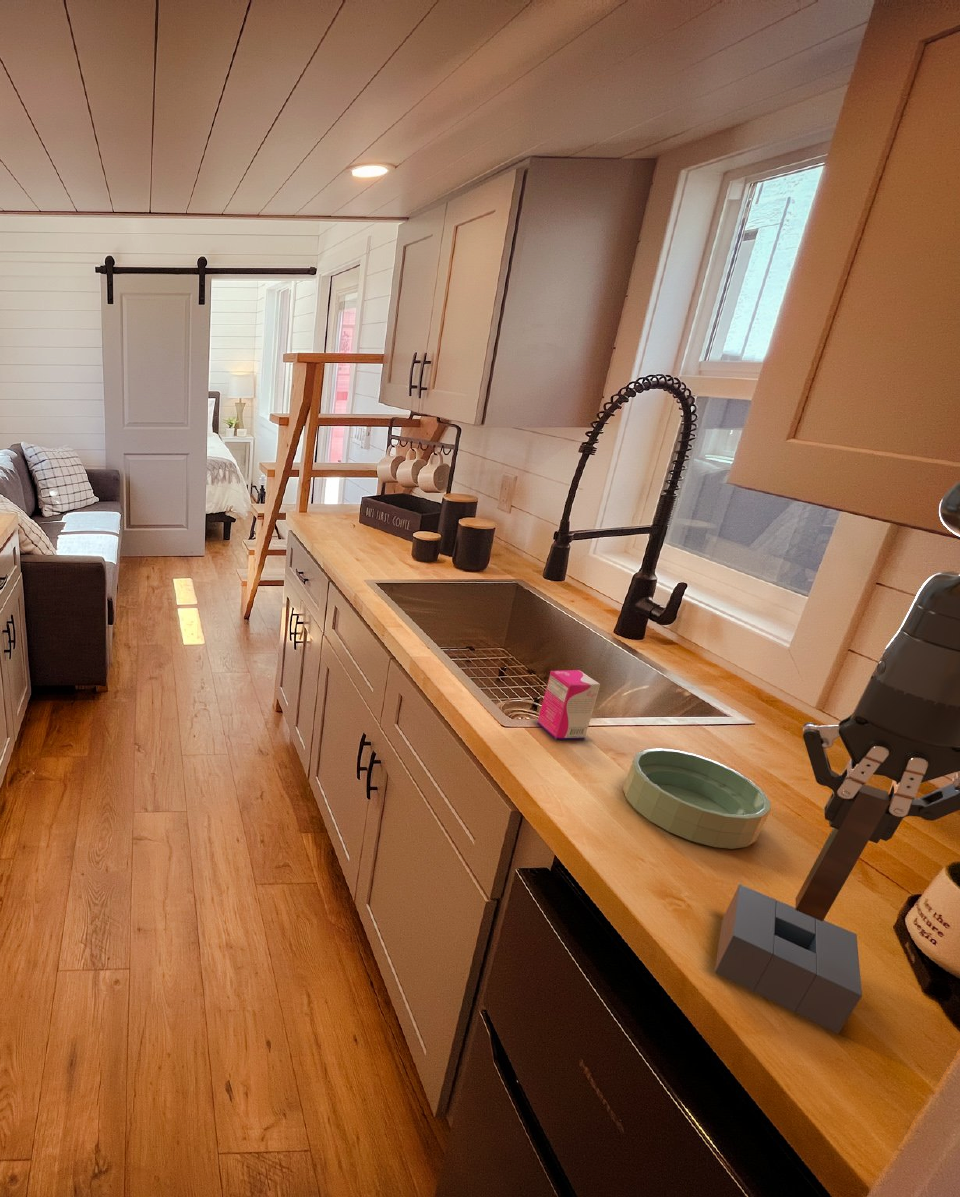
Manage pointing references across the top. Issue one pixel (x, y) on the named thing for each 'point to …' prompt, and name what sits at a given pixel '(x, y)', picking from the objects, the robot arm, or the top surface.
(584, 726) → the supplement box
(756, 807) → the bowl
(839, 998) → the holder
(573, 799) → the top surface
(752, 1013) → the top surface
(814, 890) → the rectangular peg
